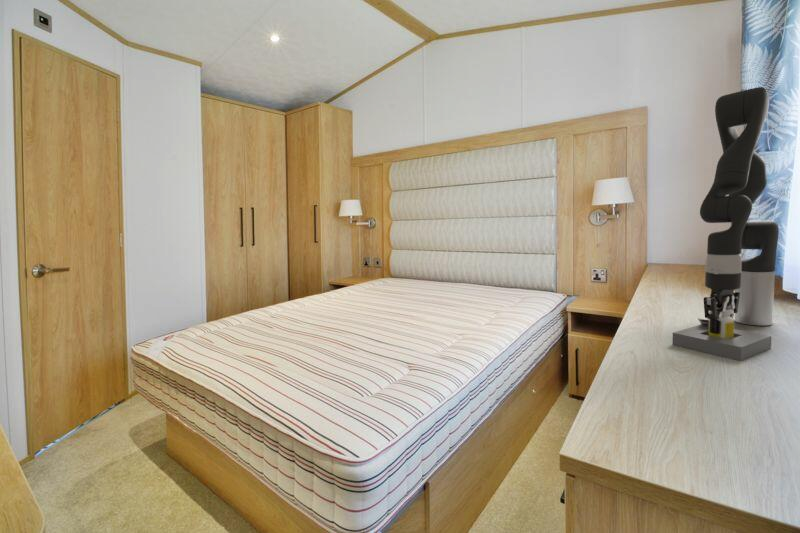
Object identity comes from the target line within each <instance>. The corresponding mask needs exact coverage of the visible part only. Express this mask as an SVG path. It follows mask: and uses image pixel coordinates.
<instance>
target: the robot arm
mask: <svg viewBox="0 0 800 533" xmlns="http://www.w3.org/2000/svg"><path fill="white" fill-rule="evenodd" d="M769 97H770V96H769V92H768V90H767V89H766V88H765V87H762V86H759V87H754V88H749V89H745V90H742V91H736V92H731V93H729V94H727V93H726V94H725V95H721V96H720V97H718V98H717V99H716V102H715V106H714V114H715V120H716V125H717V130H718V134H719V138H720V139H719V140H720V143H721V147H722V155H721V156H720V158H718V161H717V164H716V169H715V174H714V180H713V183H712V184H711V187H710V188H709V191H708V193H707V194H706V195H705V198H704V199H703V200H702V203H701V205H700V209H699V215H700V218H701V219H702V221H703V222H705V223H707V224H708V223H709V224H721V223H727V224H728V223H730V224H731V225H730V227H729V228H727V229H725V230H721V231H715V232H714V231H713V232H711V233H709V234H708V236H707V246H706V247H707V249H706V252H707V254H706V258H705V259H706V260H705V273H704V274H705V275H704V276H705V278H704V286H705V287H706V288H708V289H710V290H711V291H710V293H709V294H710V295H709V296H708V297H707V296H705V297H703V309H704V310H703V311H704V318H705V319H708V318H709V319H710V332H711V333H714V334H720V332H721V321H720V320H721V317H722V313H724V312H725V310H726V308H729V309H731V315H730V317H733V318H734V322H736V323H739V324H743V325H750V326H765V327H766V326H771V325H773V314H774V296H775V280H776V279H775V274H776V264H777V263H776V261H777V260H776V259H777V248H778V242H779V235H780V234H779V233H780V230H779V225H778V223H777V222H776V221H775V220H749V217H750V215H751V213H752V211H753V204H754V202H756V200H757V199H758V198H759V197H760V195H761V194H762V193H763V191H764V190H765V188H766V186H767V183H768V177H767V166H766V162H765V159H764V158H763V157H762V156H761V155H760V154H758V152H756V151H755V150H756V147H757V145H758V144H757V143H758V141H759V139H760V137H761V134H762V131H763V128H764V125H765V122H766V120H767V116H768V112H769V107H770V98H769ZM743 125H745V127H744V129H743V130H742V132H741V133H740V135H739V133H738V131H737V128H736V127H738V126H739V127H740V126H743ZM742 250H761V252H760V254H758V255H756V256H753V257H751V258H746V259H742V255H741V254H742ZM734 290H735V291H734ZM717 308H720V309H717ZM717 312H718V315H717Z"/></svg>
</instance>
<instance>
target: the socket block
mask: <svg viewBox="0 0 800 533" xmlns="http://www.w3.org/2000/svg"><path fill="white" fill-rule="evenodd" d="M708 332H709V325H705V324H701V323H700V324H698V325H694V326H692V327H690V326H689V327H688V328H684V329H680V330H677V331H674V332H672V346H677V347H680V348H685V349H689V350H692V351H693V350H694V351H697V352H702V353H705V352H706V354H710V355H714V354H715V355H716V356H718V355H719V357H722V356H723V358H728V359H731V360H736V361H740V362H742V361H744V360H747V359H749V358H752V357H754V356H756V355H759V354H762V353H764V352H766V351H768V350H771V349H772V335H768V334H764V333H757V332H752V331H746V330H741V329H735V328H734V338H732V339H730V340H728V339H723V338H718V337H713V336H708ZM763 351H764V352H763ZM715 355H714V356H715ZM751 356H752V357H751Z"/></svg>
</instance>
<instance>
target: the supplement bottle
mask: <svg viewBox="0 0 800 533" xmlns="http://www.w3.org/2000/svg"><path fill="white" fill-rule="evenodd" d="M717 309H720V308H717ZM717 315H718V312H717ZM730 315H731V309H729V308H726V310H725V312H724V313H722V317H721V320H720V321H721V332H720V334H714V333H711V332H710V319H709V332H708V336H713V337H718V338H723V339H728V340H730V339H732V338H734V329H735V318H734V317H733V318H732V317H730Z"/></svg>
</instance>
